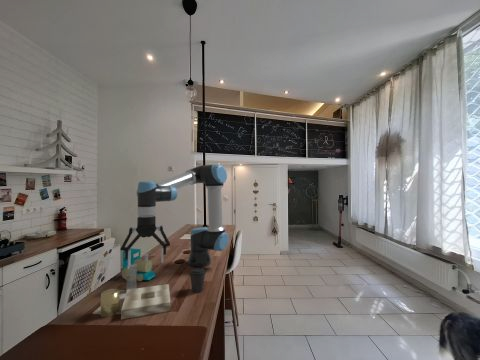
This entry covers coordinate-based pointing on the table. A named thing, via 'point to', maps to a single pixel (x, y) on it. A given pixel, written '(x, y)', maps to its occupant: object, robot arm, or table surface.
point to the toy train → (138, 265)
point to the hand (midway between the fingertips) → (146, 263)
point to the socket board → (146, 301)
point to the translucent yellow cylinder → (109, 302)
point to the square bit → (131, 277)
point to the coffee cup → (197, 279)
